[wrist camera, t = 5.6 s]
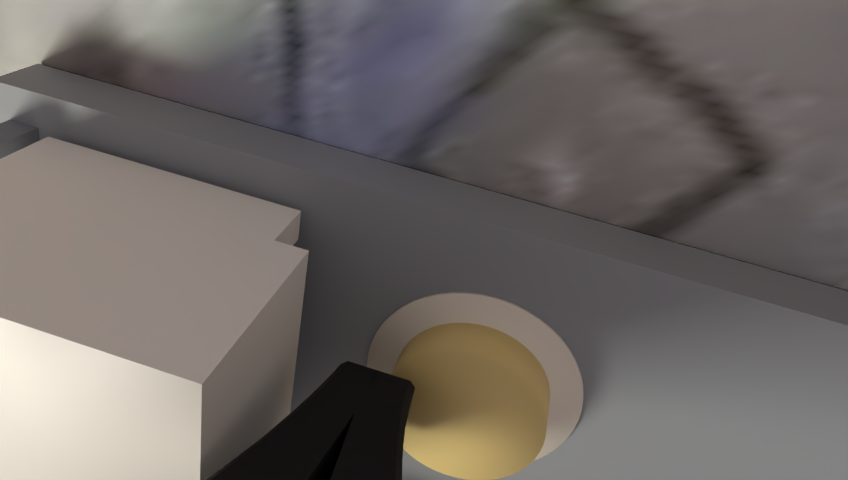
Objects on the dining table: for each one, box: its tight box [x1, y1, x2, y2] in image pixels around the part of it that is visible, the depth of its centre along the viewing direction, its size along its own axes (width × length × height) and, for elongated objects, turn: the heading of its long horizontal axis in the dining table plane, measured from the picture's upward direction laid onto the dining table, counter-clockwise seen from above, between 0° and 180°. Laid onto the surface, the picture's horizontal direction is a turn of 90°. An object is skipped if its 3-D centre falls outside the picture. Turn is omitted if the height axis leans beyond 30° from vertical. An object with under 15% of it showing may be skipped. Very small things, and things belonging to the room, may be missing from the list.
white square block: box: [0, 137, 309, 480], centre depth 12 cm, size 6×6×4 cm
